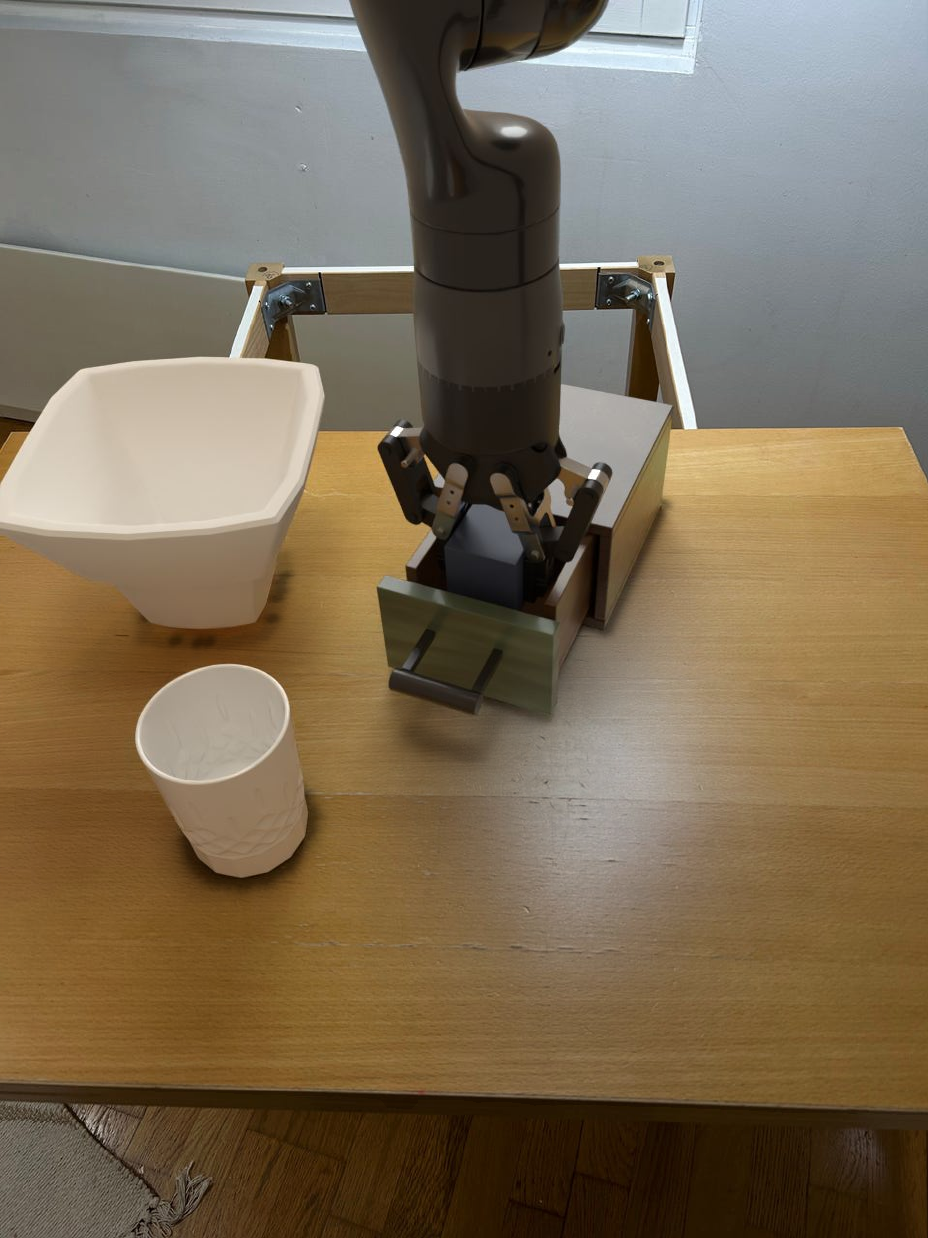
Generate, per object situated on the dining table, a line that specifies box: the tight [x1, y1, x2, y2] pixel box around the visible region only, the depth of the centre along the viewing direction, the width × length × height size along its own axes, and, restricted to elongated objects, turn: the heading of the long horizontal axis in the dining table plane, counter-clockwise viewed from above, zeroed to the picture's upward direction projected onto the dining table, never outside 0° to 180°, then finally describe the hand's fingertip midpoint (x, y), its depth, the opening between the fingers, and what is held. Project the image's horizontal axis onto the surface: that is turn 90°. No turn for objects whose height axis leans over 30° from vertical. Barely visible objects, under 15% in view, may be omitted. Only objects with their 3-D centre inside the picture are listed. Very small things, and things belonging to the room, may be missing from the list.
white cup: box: [134, 663, 309, 879], centre depth 54 cm, size 8×8×10 cm
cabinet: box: [433, 383, 675, 631], centre depth 71 cm, size 15×13×9 cm
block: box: [444, 504, 526, 611], centre depth 61 cm, size 5×5×5 cm
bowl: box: [0, 356, 326, 630], centre depth 67 cm, size 19×19×14 cm
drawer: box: [376, 504, 600, 717], centre depth 63 cm, size 18×11×7 cm, turn 157°
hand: (496, 583), depth 63 cm, fingers closed on block, 4 cm apart
